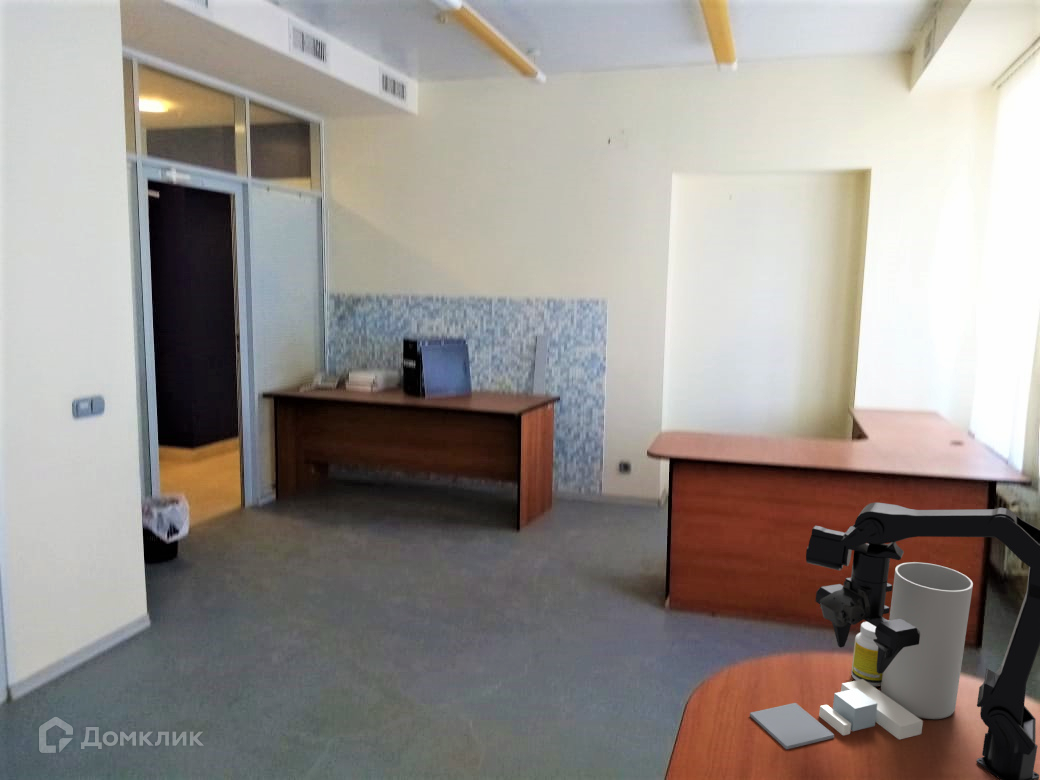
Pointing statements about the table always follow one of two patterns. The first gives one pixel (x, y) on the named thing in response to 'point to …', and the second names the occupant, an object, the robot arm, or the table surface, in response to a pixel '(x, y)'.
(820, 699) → the table surface
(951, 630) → the cylinder vase
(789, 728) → the mat
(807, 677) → the table surface
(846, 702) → the pale blue cube
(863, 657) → the pill bottle
